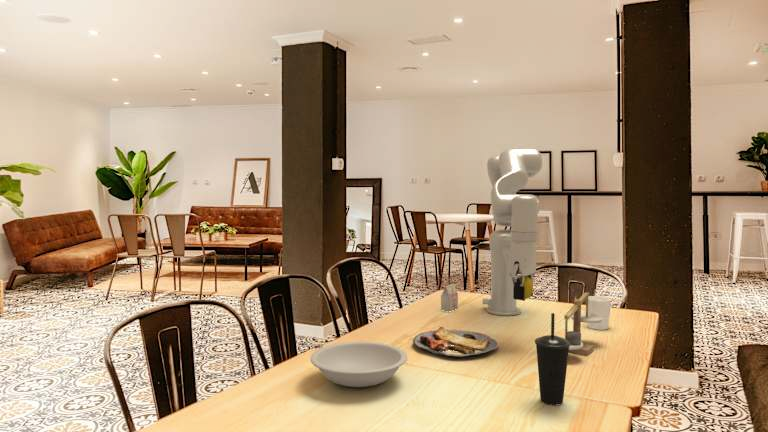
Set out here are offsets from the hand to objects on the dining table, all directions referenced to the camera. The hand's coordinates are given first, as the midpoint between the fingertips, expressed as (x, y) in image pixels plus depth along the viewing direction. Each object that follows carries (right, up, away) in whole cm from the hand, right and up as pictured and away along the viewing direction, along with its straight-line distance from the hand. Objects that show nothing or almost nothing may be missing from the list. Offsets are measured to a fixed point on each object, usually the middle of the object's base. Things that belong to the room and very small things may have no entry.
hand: (523, 297), depth 158 cm
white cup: (+32, -14, +23) cm, 42 cm away
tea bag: (-16, -13, +48) cm, 53 cm away
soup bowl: (-48, -17, -26) cm, 57 cm away
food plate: (-20, -16, +2) cm, 26 cm away
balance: (+15, -15, -2) cm, 22 cm away
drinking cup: (-4, -18, -38) cm, 42 cm away
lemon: (0, -1, 0) cm, 1 cm away
